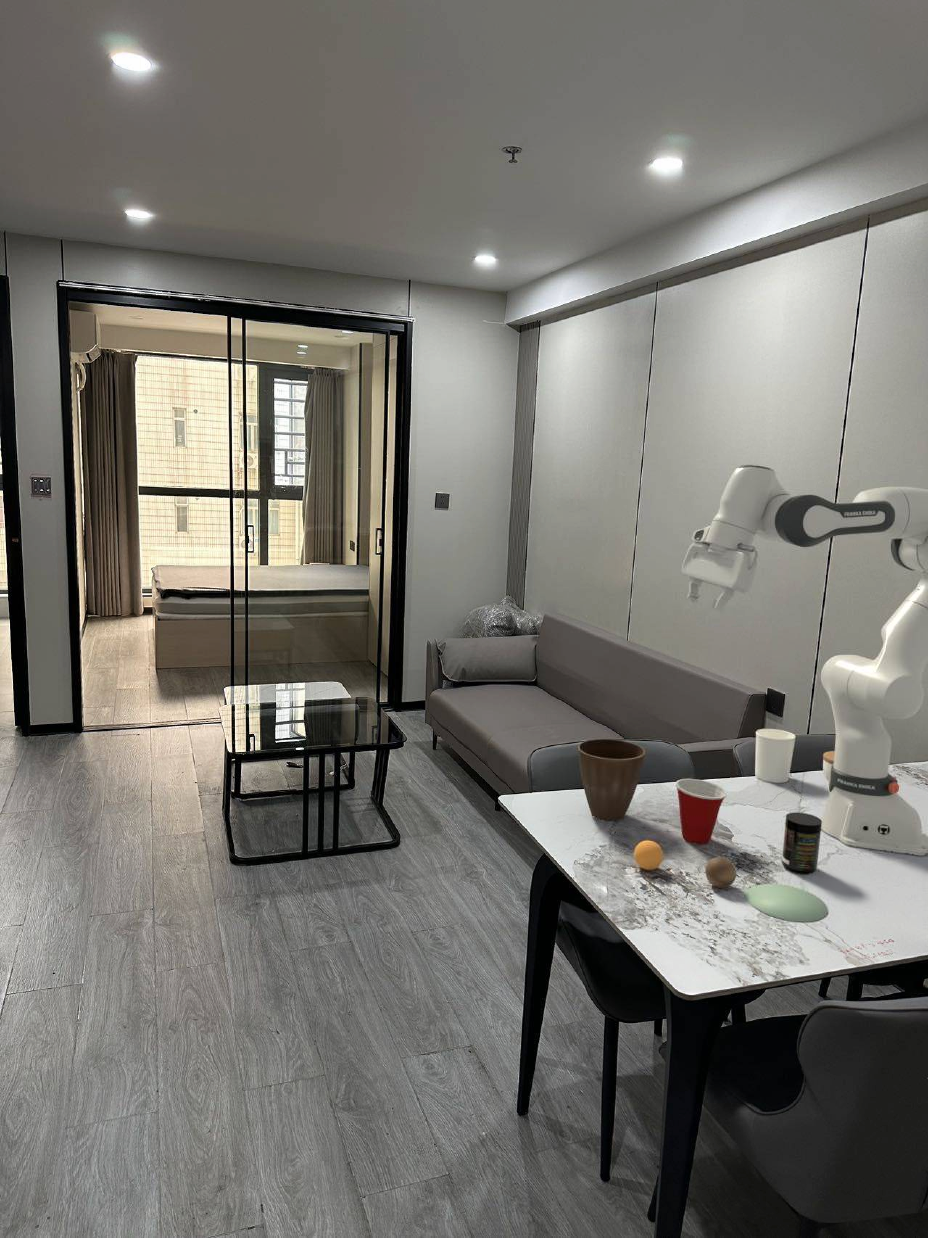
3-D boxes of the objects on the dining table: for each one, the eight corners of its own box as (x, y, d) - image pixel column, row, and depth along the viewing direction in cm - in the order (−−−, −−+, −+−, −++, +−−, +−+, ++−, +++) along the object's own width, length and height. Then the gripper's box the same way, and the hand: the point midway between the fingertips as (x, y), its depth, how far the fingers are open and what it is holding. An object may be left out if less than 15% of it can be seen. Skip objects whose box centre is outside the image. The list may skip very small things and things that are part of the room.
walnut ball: (737, 884, 164) (740, 856, 163) (731, 896, 159) (734, 867, 158) (708, 877, 166) (710, 849, 165) (701, 888, 161) (703, 860, 161)
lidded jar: (875, 791, 218) (878, 756, 217) (840, 794, 215) (843, 758, 214) (845, 777, 228) (848, 743, 227) (811, 780, 225) (814, 746, 224)
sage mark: (831, 897, 160) (831, 896, 160) (822, 929, 148) (822, 928, 147) (753, 878, 166) (753, 877, 166) (739, 908, 154) (739, 907, 154)
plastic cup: (725, 852, 178) (730, 797, 176) (672, 846, 180) (676, 792, 178) (721, 832, 188) (725, 780, 186) (670, 827, 190) (674, 775, 189)
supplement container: (824, 874, 169) (829, 823, 168) (795, 877, 167) (800, 826, 166) (801, 859, 176) (806, 811, 174) (774, 862, 174) (778, 813, 172)
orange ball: (665, 866, 170) (667, 840, 169) (657, 877, 165) (659, 850, 164) (638, 860, 173) (639, 833, 172) (629, 870, 168) (631, 843, 167)
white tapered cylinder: (770, 786, 220) (774, 740, 218) (744, 773, 229) (747, 730, 227) (799, 781, 224) (804, 737, 222) (772, 770, 232) (776, 727, 231)
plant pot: (627, 834, 186) (632, 763, 183) (564, 819, 193) (567, 750, 190) (649, 812, 199) (653, 746, 196) (588, 799, 206) (592, 735, 203)
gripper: (772, 552, 165) (746, 619, 166) (712, 540, 184) (689, 600, 185) (747, 542, 163) (720, 610, 164) (689, 531, 182) (666, 592, 183)
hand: (703, 605), depth 175 cm, fingers open, 8 cm apart
